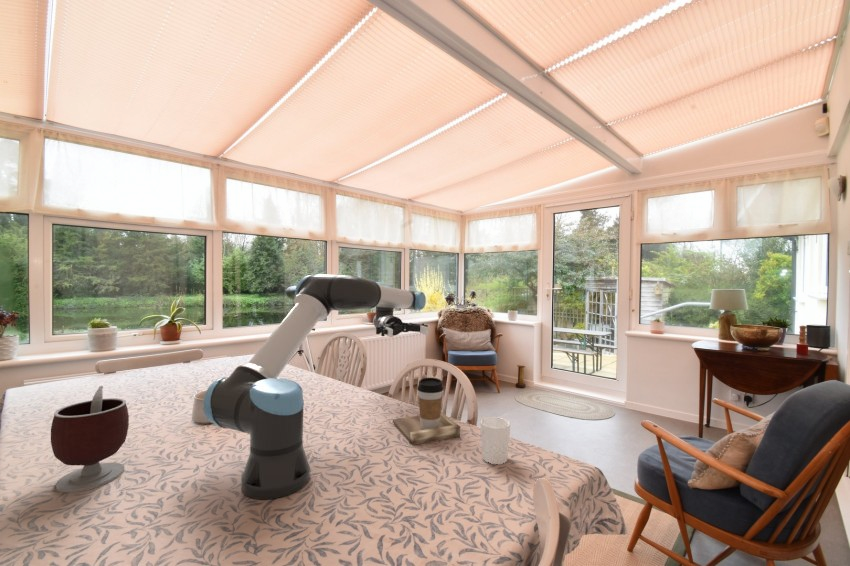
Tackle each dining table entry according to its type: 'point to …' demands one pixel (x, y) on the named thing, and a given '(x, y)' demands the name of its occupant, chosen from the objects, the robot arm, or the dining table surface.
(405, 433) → the wooden tray
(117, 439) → the mate gourd
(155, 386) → the dining table surface
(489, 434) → the white cup
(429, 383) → the coffee cup
